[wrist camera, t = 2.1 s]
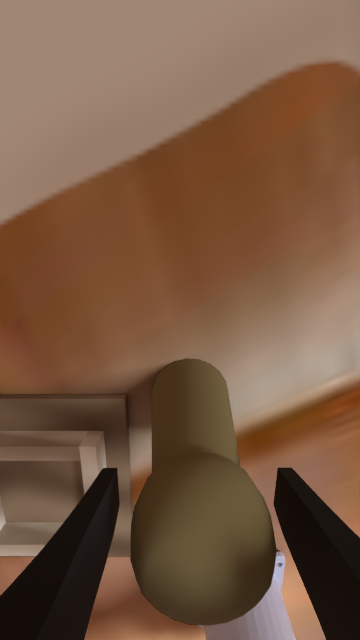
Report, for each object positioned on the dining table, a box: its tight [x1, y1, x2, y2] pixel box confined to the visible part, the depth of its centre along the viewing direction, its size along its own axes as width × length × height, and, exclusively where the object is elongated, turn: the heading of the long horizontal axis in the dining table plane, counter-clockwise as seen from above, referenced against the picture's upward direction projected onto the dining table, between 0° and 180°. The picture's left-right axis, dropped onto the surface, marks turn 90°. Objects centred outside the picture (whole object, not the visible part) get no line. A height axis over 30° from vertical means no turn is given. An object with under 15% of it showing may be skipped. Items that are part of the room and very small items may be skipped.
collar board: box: [0, 394, 133, 557], centre depth 18 cm, size 16×14×2 cm
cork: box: [130, 359, 277, 626], centre depth 12 cm, size 6×6×11 cm
